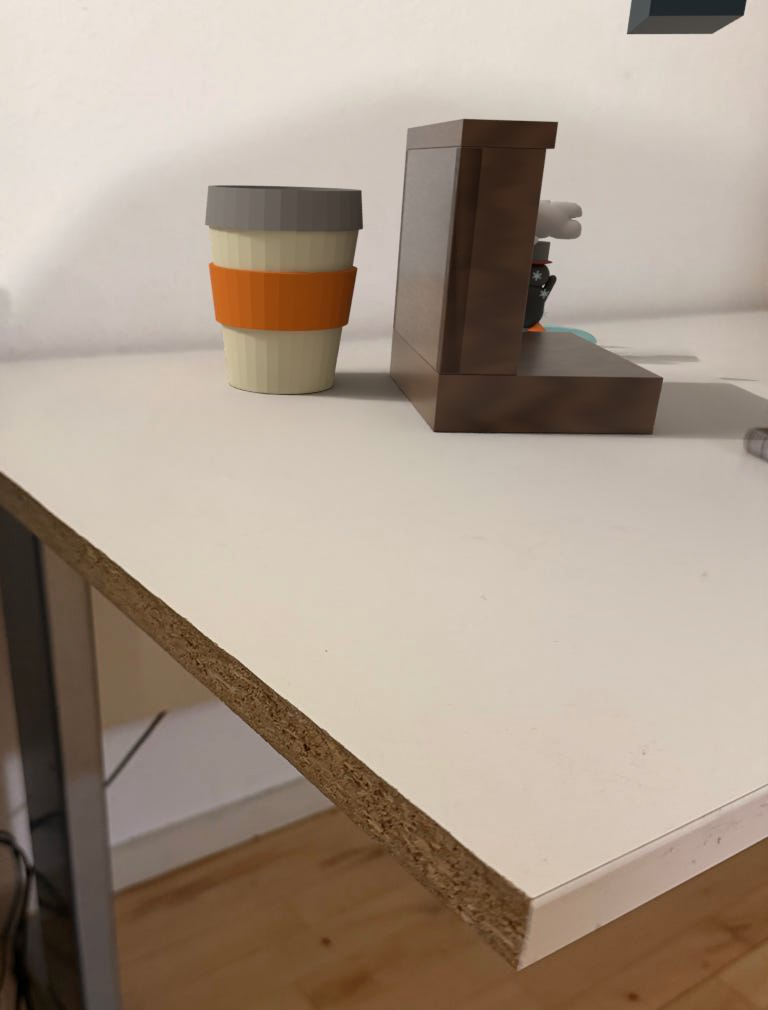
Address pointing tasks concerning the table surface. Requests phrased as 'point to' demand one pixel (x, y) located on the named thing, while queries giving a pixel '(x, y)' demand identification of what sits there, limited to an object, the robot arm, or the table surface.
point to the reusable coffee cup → (282, 281)
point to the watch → (683, 16)
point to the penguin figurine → (559, 226)
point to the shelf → (493, 296)
